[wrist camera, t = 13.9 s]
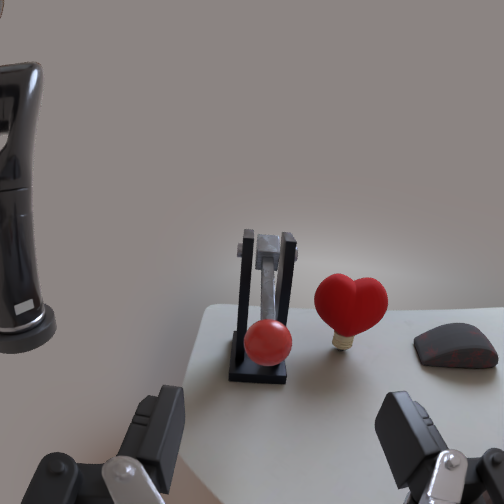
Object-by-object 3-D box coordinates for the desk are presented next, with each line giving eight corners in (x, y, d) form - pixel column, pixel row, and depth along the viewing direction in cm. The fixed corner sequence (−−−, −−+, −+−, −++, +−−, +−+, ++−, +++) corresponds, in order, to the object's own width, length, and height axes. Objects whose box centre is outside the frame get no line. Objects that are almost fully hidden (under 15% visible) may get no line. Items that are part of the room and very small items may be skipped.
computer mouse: (499, 371, 28) (510, 347, 27) (422, 369, 32) (432, 342, 30) (481, 345, 36) (489, 322, 35) (411, 339, 39) (418, 315, 38)
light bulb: (303, 359, 34) (317, 282, 32) (307, 332, 41) (318, 264, 38) (377, 367, 33) (398, 292, 30) (370, 340, 39) (387, 273, 37)
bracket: (285, 384, 30) (306, 248, 26) (228, 381, 30) (236, 242, 26) (279, 341, 38) (292, 229, 35) (233, 338, 38) (240, 225, 34)
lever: (288, 375, 22) (297, 350, 19) (241, 373, 22) (243, 347, 19) (282, 258, 33) (286, 231, 31) (249, 256, 33) (251, 228, 31)
